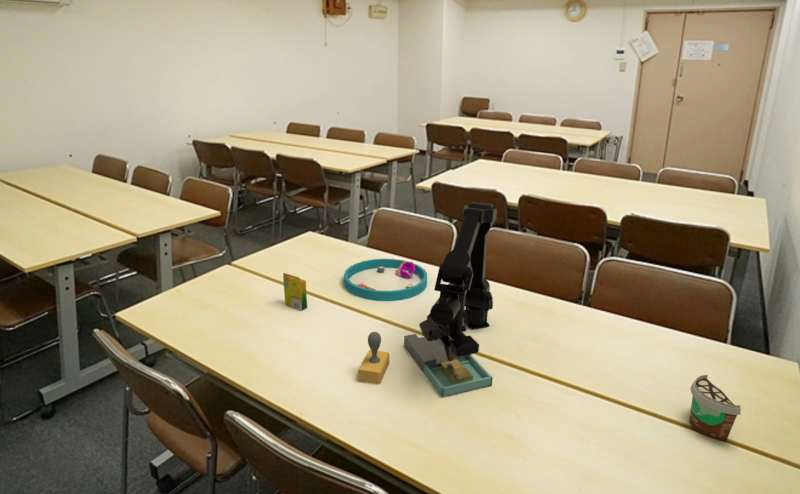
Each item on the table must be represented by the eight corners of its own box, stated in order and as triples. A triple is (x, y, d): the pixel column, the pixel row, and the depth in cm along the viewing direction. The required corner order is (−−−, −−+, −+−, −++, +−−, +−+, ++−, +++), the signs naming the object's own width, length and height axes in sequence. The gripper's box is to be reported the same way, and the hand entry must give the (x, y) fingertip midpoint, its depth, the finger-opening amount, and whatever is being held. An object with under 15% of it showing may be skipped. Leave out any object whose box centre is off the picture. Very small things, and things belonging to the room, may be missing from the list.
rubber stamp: (380, 385, 133) (380, 343, 129) (358, 381, 134) (357, 340, 130) (389, 363, 142) (390, 324, 138) (369, 360, 144) (368, 321, 139)
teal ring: (443, 284, 192) (444, 269, 190) (385, 311, 172) (385, 294, 169) (385, 261, 211) (386, 248, 209) (327, 283, 191) (326, 268, 189)
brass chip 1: (457, 365, 141) (457, 359, 140) (464, 374, 137) (464, 367, 137) (440, 369, 139) (440, 363, 138) (447, 377, 136) (447, 371, 135)
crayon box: (307, 307, 172) (306, 275, 168) (301, 311, 169) (299, 278, 165) (291, 302, 175) (289, 269, 171) (284, 305, 173) (282, 272, 169)
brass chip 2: (465, 373, 137) (465, 367, 137) (472, 382, 134) (473, 375, 133) (448, 377, 136) (448, 371, 135) (455, 386, 132) (455, 379, 131)
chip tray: (470, 363, 143) (471, 355, 142) (491, 385, 134) (492, 377, 133) (423, 373, 138) (424, 365, 137) (442, 397, 129) (442, 389, 128)
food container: (672, 409, 126) (680, 374, 122) (696, 408, 126) (706, 373, 123) (704, 446, 114) (714, 408, 111) (731, 444, 115) (742, 406, 111)
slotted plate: (447, 338, 155) (448, 327, 154) (470, 363, 143) (471, 351, 142) (403, 346, 150) (404, 335, 149) (423, 373, 138) (424, 361, 137)
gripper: (409, 296, 138) (408, 348, 144) (440, 330, 122) (437, 386, 128) (447, 290, 142) (445, 341, 148) (482, 322, 126) (477, 377, 131)
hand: (450, 360), depth 138 cm, fingers closed
